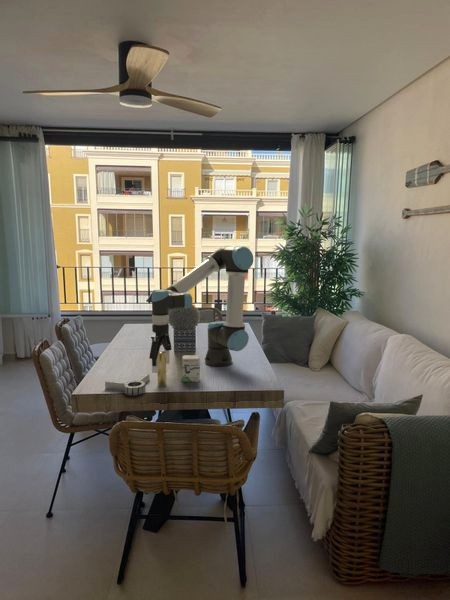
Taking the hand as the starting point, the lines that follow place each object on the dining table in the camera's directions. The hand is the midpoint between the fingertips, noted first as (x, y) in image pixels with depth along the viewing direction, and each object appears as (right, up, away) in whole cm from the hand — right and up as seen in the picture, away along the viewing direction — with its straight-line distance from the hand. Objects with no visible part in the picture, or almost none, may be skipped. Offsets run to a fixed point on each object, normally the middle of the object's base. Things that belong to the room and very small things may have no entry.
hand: (161, 367), depth 183 cm
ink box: (+13, -8, +9) cm, 18 cm away
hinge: (-15, -9, 0) cm, 17 cm away
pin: (0, -8, +2) cm, 9 cm away
